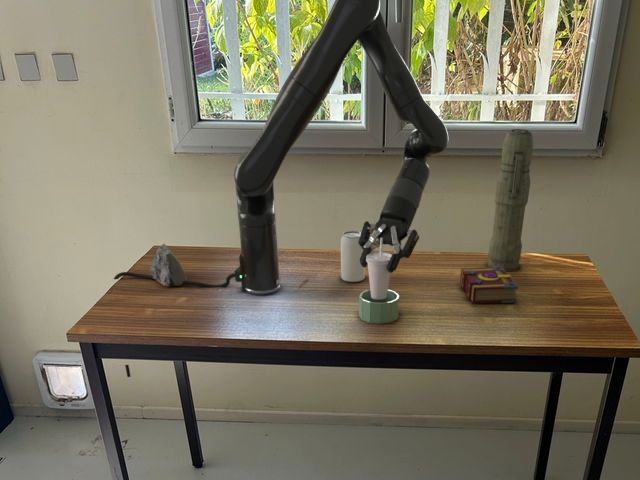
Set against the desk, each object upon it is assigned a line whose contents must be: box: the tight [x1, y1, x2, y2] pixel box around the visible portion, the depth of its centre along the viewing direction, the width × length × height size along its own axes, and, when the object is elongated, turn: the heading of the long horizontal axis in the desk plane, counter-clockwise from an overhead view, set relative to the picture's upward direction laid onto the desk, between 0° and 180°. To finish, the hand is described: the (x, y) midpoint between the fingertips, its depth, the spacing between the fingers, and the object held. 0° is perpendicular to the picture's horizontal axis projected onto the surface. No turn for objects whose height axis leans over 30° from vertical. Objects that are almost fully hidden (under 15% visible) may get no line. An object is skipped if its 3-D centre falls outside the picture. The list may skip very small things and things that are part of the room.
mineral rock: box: [149, 243, 188, 288], centre depth 186 cm, size 13×11×10 cm
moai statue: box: [487, 128, 534, 272], centre depth 188 cm, size 9×12×35 cm
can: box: [340, 230, 366, 283], centre depth 186 cm, size 6×6×12 cm
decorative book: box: [459, 266, 519, 304], centre depth 179 cm, size 11×16×5 cm
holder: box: [358, 289, 400, 325], centre depth 167 cm, size 9×9×5 cm
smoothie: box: [366, 238, 392, 300], centre depth 162 cm, size 6×6×14 cm
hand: (376, 268), depth 160 cm, fingers closed on smoothie, 6 cm apart
